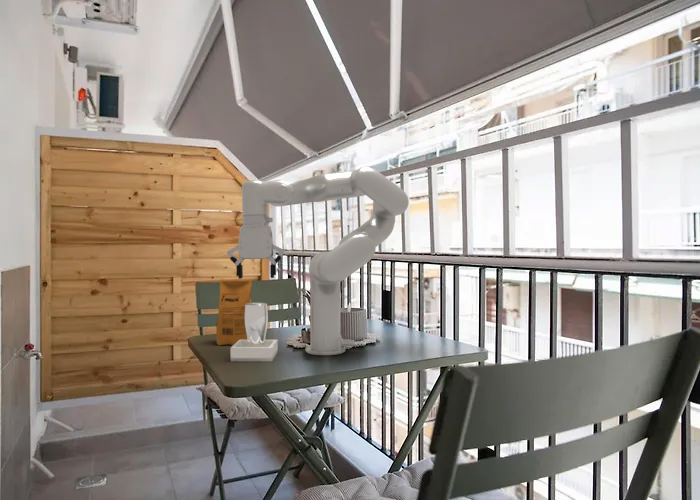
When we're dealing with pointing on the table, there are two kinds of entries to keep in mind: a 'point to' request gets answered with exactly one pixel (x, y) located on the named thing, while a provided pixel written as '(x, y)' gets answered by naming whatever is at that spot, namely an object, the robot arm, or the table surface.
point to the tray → (254, 351)
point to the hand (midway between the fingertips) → (256, 277)
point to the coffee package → (232, 311)
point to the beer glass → (256, 324)
